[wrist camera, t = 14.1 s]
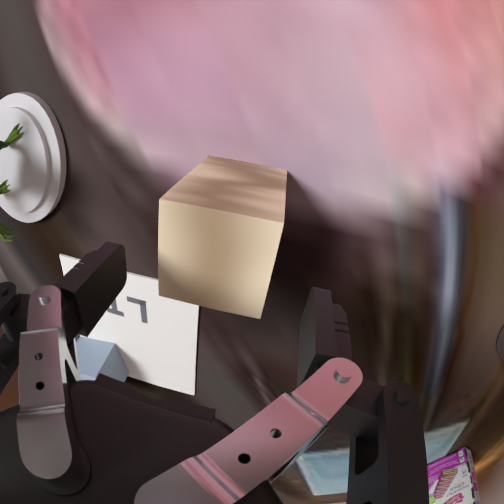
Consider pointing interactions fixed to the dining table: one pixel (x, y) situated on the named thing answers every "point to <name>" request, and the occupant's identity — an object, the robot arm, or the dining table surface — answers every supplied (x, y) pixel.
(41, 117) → the monster figurine
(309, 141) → the dining table surface
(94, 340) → the slate cube
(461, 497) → the candy bar box
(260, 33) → the dining table surface
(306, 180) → the dining table surface
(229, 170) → the birch block
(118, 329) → the white mat
